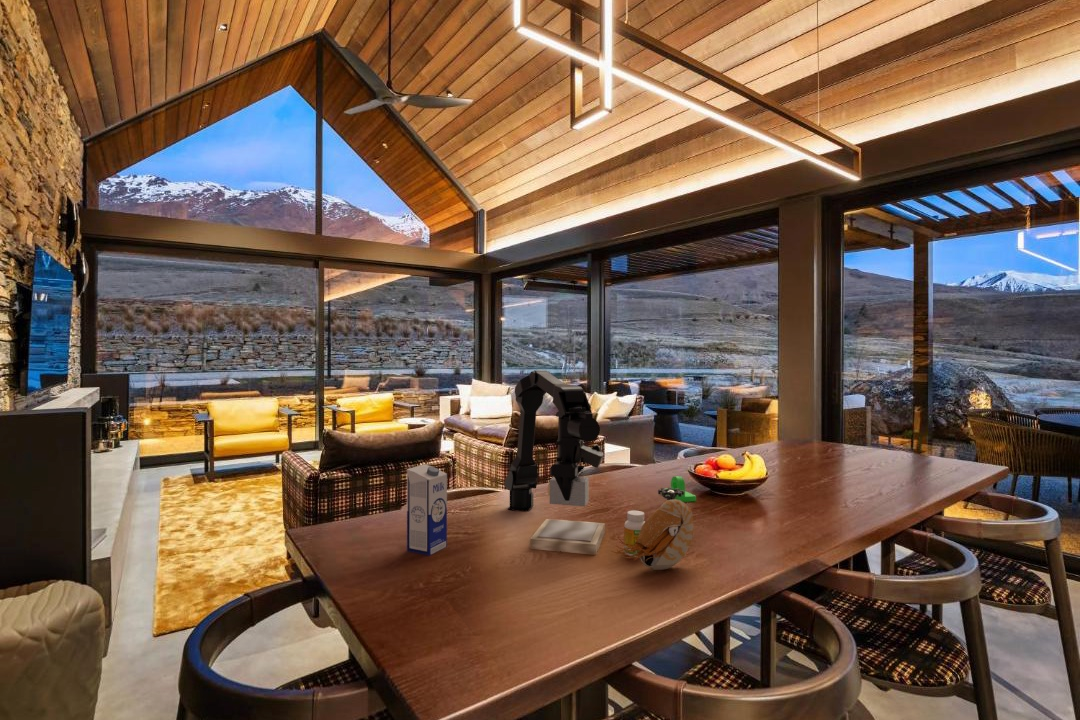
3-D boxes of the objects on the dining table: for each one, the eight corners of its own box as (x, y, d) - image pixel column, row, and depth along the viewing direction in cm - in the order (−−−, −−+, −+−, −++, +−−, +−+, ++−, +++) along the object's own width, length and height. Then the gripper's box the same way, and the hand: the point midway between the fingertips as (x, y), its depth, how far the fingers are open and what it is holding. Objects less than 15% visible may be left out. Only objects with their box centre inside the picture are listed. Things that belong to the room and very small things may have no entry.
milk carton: (425, 543, 136) (425, 463, 135) (447, 547, 133) (447, 465, 133) (406, 552, 129) (406, 468, 129) (429, 556, 126) (429, 471, 126)
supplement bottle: (633, 559, 125) (633, 517, 125) (619, 551, 130) (619, 511, 130) (651, 555, 128) (652, 514, 128) (637, 548, 132) (637, 508, 132)
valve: (689, 537, 141) (689, 490, 141) (672, 542, 137) (672, 494, 137) (669, 530, 146) (669, 486, 146) (652, 535, 142) (652, 489, 142)
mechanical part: (695, 502, 176) (696, 477, 176) (679, 503, 174) (679, 478, 174) (676, 493, 187) (676, 470, 187) (661, 494, 186) (661, 470, 186)
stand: (530, 549, 131) (530, 537, 131) (546, 527, 148) (546, 517, 148) (595, 555, 128) (595, 543, 128) (604, 532, 144) (604, 522, 144)
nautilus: (604, 574, 116) (604, 504, 116) (679, 556, 127) (679, 492, 127) (628, 588, 109) (628, 514, 109) (705, 568, 120) (705, 500, 120)
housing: (585, 506, 134) (585, 482, 134) (546, 503, 136) (546, 479, 136) (588, 500, 139) (588, 477, 139) (551, 498, 142) (551, 475, 142)
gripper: (595, 443, 127) (595, 509, 127) (605, 432, 145) (605, 490, 145) (549, 441, 129) (549, 506, 129) (564, 430, 147) (564, 488, 148)
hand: (569, 497), depth 138 cm, fingers closed on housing, 5 cm apart
